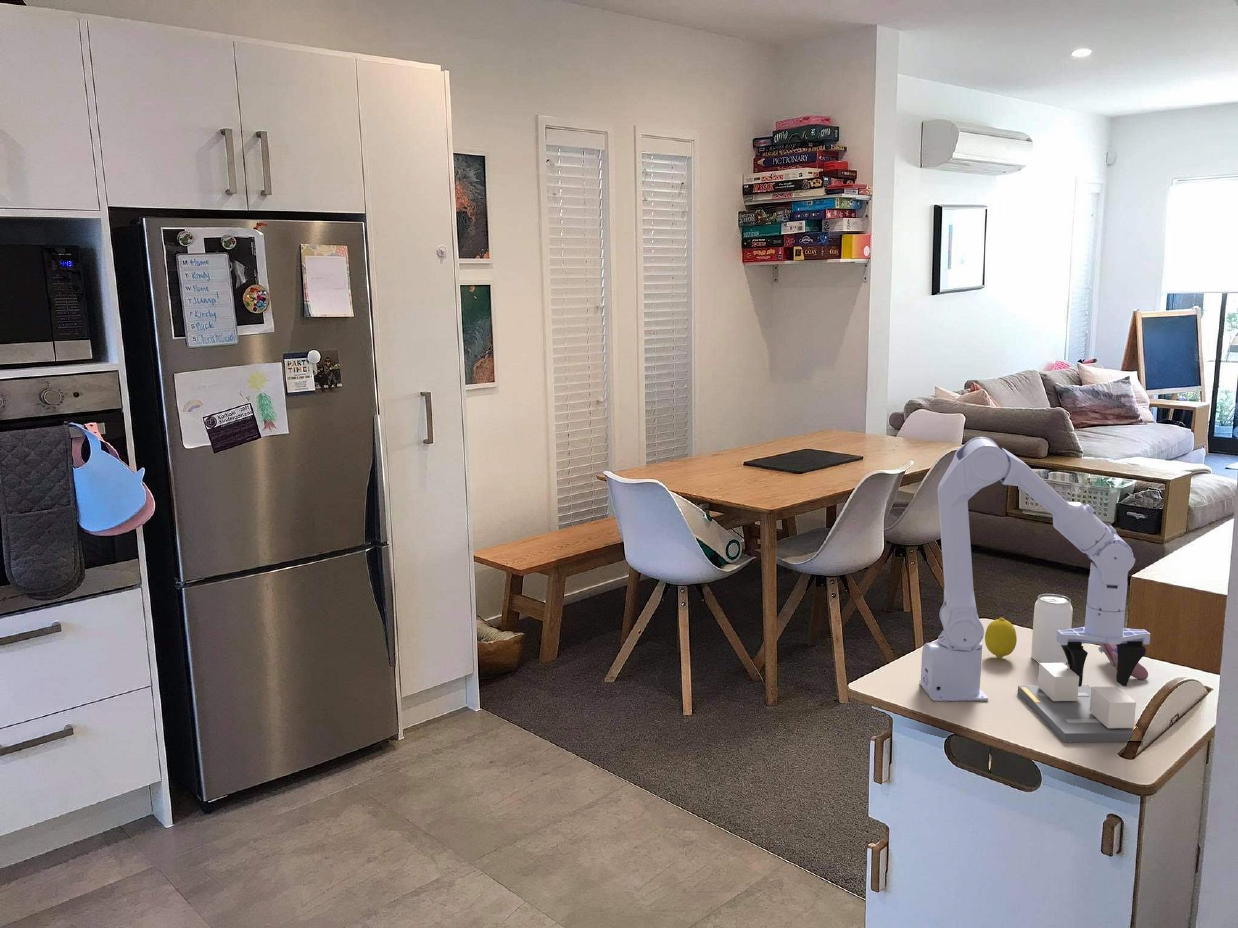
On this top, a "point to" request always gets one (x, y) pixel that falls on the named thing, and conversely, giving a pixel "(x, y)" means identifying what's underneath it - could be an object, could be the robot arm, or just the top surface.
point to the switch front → (1112, 707)
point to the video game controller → (1112, 655)
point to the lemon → (1000, 637)
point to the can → (1050, 627)
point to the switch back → (1058, 682)
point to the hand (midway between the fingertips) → (1099, 684)
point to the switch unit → (1072, 717)
